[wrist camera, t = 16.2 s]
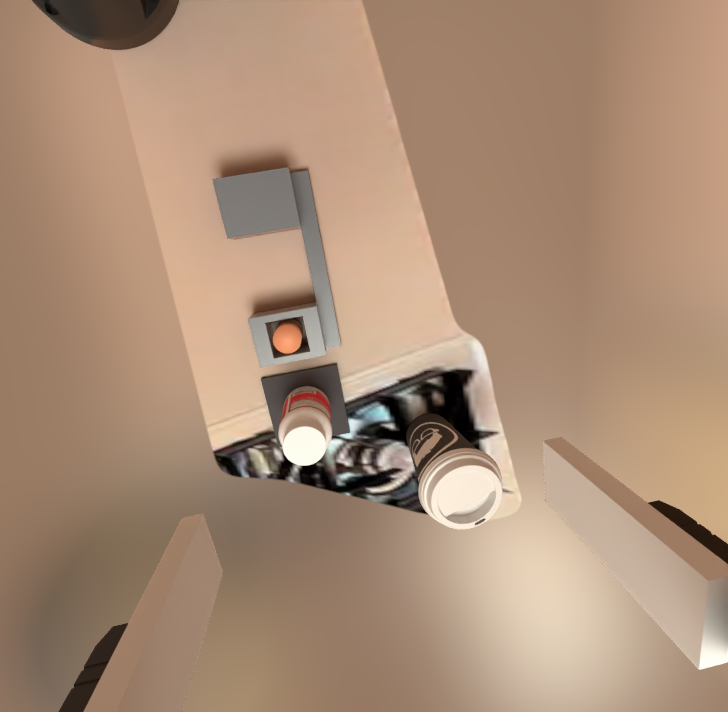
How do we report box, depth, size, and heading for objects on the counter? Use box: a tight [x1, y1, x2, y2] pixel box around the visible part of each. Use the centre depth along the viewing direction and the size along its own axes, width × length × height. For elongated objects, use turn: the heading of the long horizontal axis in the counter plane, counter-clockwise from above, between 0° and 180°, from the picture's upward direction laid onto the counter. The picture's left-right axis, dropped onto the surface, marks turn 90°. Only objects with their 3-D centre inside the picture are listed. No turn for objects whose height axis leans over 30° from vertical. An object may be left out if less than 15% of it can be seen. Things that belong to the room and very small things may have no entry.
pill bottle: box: [278, 386, 332, 465], centre depth 46 cm, size 6×6×11 cm
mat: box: [261, 364, 350, 447], centre depth 52 cm, size 10×10×1 cm
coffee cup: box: [406, 413, 502, 529], centre depth 48 cm, size 10×10×15 cm
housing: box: [212, 167, 341, 368], centre depth 45 cm, size 21×10×4 cm, turn 9°
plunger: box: [273, 319, 303, 354], centre depth 47 cm, size 3×3×5 cm
